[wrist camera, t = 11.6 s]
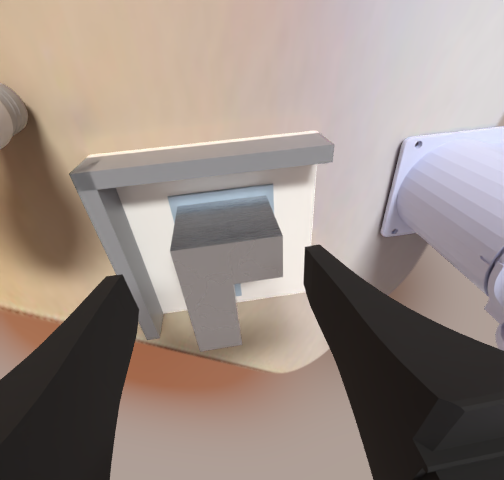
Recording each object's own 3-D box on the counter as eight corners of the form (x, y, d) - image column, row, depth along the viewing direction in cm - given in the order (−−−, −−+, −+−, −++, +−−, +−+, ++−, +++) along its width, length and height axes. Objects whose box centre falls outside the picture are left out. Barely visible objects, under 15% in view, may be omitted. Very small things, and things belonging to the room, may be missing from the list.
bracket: (270, 288, 24) (283, 337, 20) (201, 299, 24) (200, 351, 20) (266, 195, 19) (282, 235, 15) (177, 206, 19) (169, 251, 14)
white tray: (315, 130, 18) (334, 144, 15) (305, 287, 26) (316, 313, 23) (89, 154, 17) (69, 174, 14) (152, 310, 25) (147, 340, 22)
